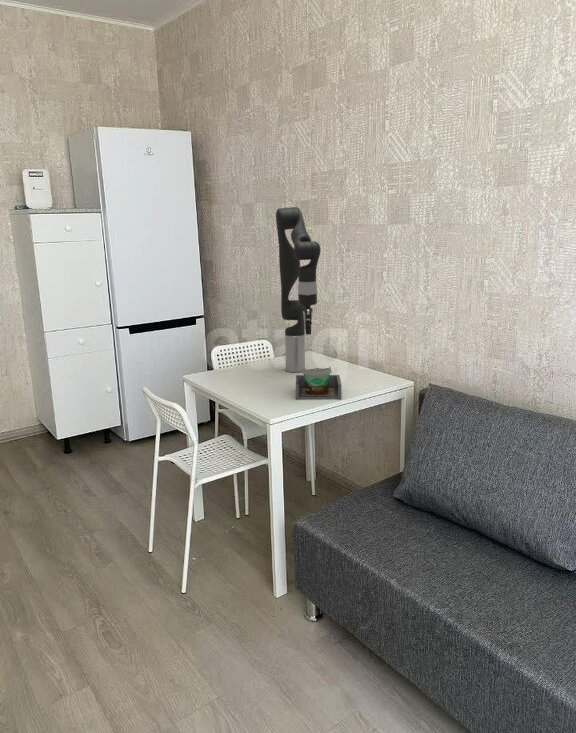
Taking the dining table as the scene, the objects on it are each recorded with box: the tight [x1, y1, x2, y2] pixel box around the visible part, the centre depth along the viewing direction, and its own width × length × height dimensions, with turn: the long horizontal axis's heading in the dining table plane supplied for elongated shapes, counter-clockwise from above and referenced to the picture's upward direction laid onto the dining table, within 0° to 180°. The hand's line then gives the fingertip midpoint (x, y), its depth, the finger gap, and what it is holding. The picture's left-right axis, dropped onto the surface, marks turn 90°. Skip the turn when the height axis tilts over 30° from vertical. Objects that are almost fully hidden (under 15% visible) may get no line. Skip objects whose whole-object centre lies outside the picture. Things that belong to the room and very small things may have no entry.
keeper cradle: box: [295, 374, 342, 401], centre depth 245 cm, size 15×18×6 cm
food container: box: [301, 365, 333, 394], centre depth 242 cm, size 12×6×10 cm, turn 103°
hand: (308, 331), depth 245 cm, fingers open, 8 cm apart
